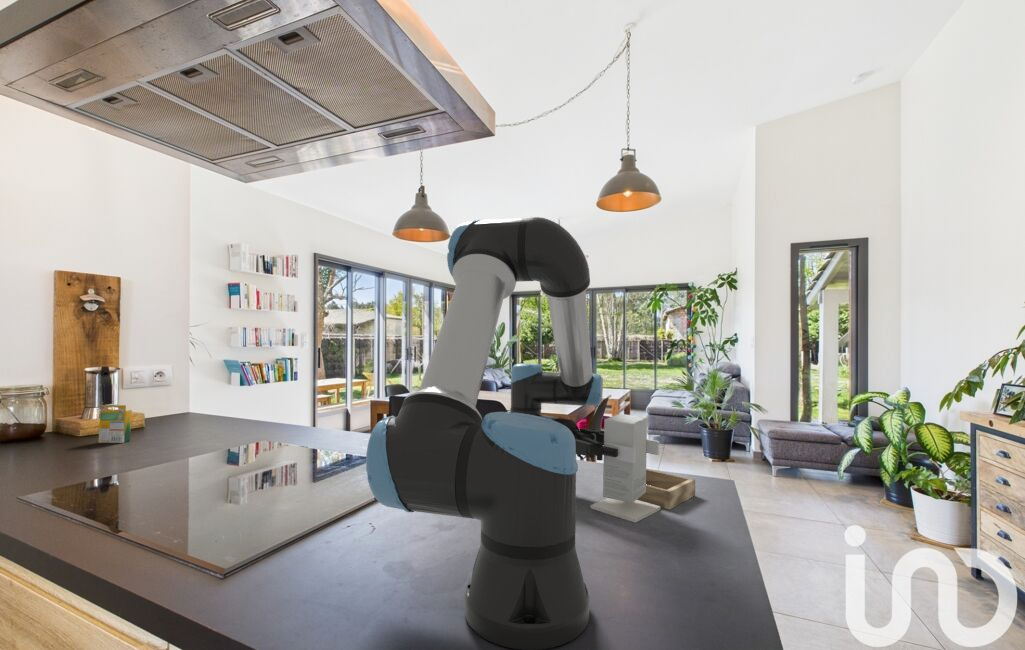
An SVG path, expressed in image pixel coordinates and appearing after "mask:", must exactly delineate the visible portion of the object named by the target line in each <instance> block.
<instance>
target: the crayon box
mask: <svg viewBox="0 0 1025 650" xmlns="http://www.w3.org/2000/svg"><path fill="white" fill-rule="evenodd" d="M109 408H110V409H109ZM111 408H115V409H114V410H113V409H111ZM116 408H118V409H116ZM132 412H133V411H132V409H130V410H129V409H127V405H126V404H125V405H124V404H123V405H122V404H121V405H118V404H117V405H115V404H113V405H102V404H101V405H100V413H99V423H98V424H99V425H98V426H99V427H98V428H99V429H98V441H97V442H98V444H116V443H117V444H118V443H119V444H124V443H128V442H130V441H131V431H132V415H133V413H132Z"/></svg>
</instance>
